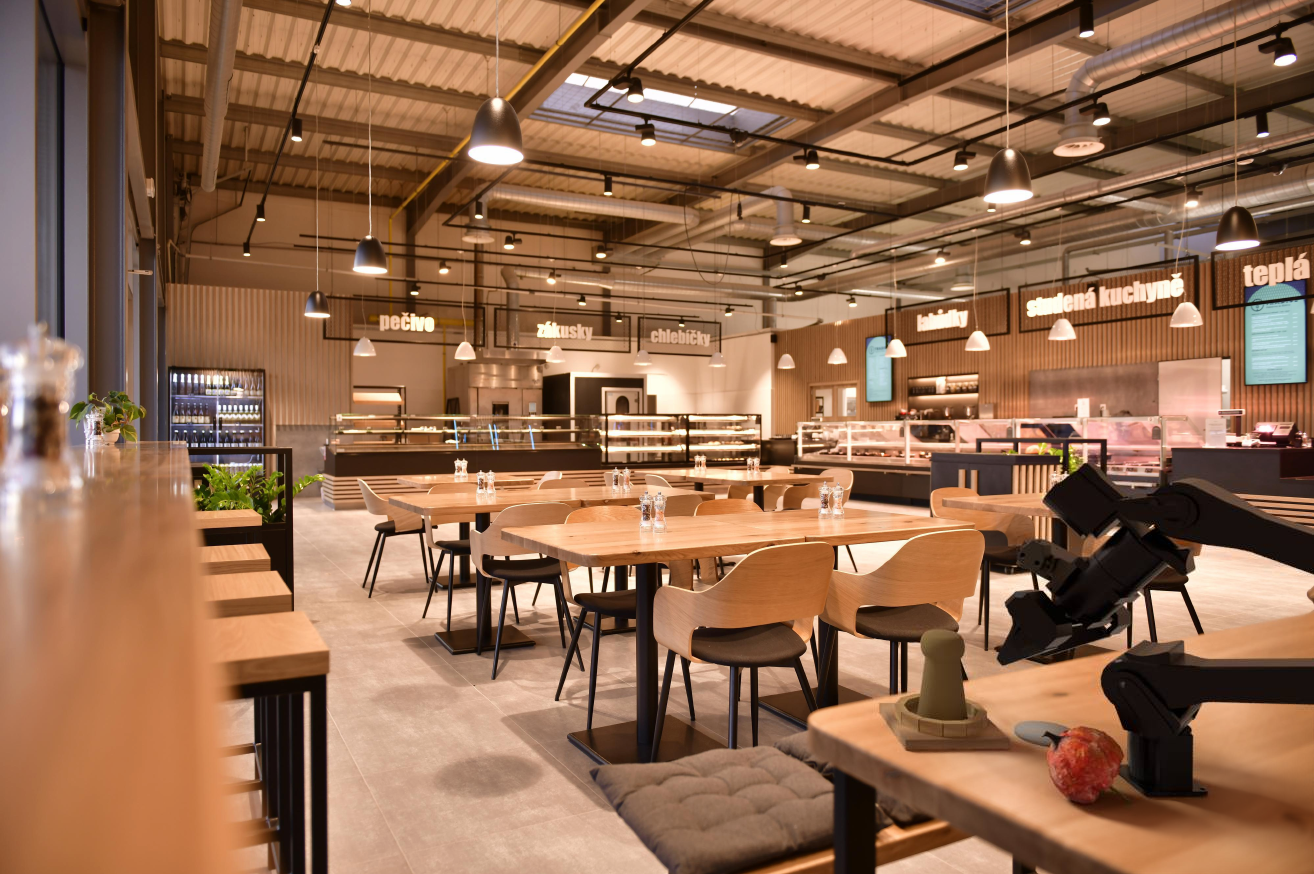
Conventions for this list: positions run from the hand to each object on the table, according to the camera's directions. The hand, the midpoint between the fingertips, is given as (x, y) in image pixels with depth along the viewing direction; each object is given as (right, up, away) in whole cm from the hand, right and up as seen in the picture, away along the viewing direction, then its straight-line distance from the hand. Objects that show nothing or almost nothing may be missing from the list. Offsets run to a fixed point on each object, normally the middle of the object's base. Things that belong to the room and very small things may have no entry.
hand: (1020, 657), depth 98 cm
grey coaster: (+4, -10, +3) cm, 11 cm away
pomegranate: (+1, -11, -13) cm, 17 cm away
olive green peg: (-7, -9, +5) cm, 13 cm away
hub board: (-8, -10, +5) cm, 14 cm away
